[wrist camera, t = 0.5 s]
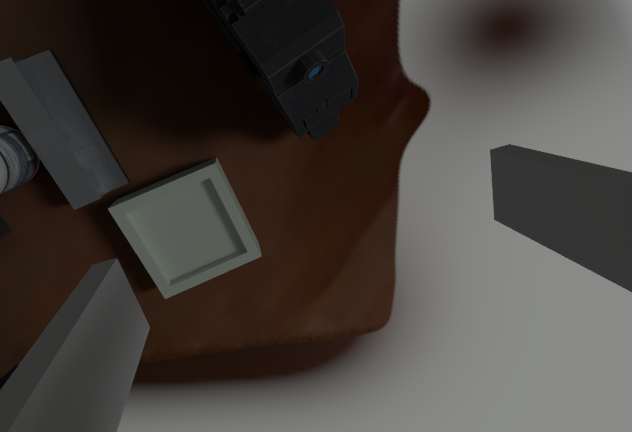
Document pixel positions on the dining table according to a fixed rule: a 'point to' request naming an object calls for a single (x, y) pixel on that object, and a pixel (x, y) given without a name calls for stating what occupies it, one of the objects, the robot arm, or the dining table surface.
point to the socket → (59, 129)
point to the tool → (293, 56)
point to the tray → (187, 228)
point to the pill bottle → (15, 159)
